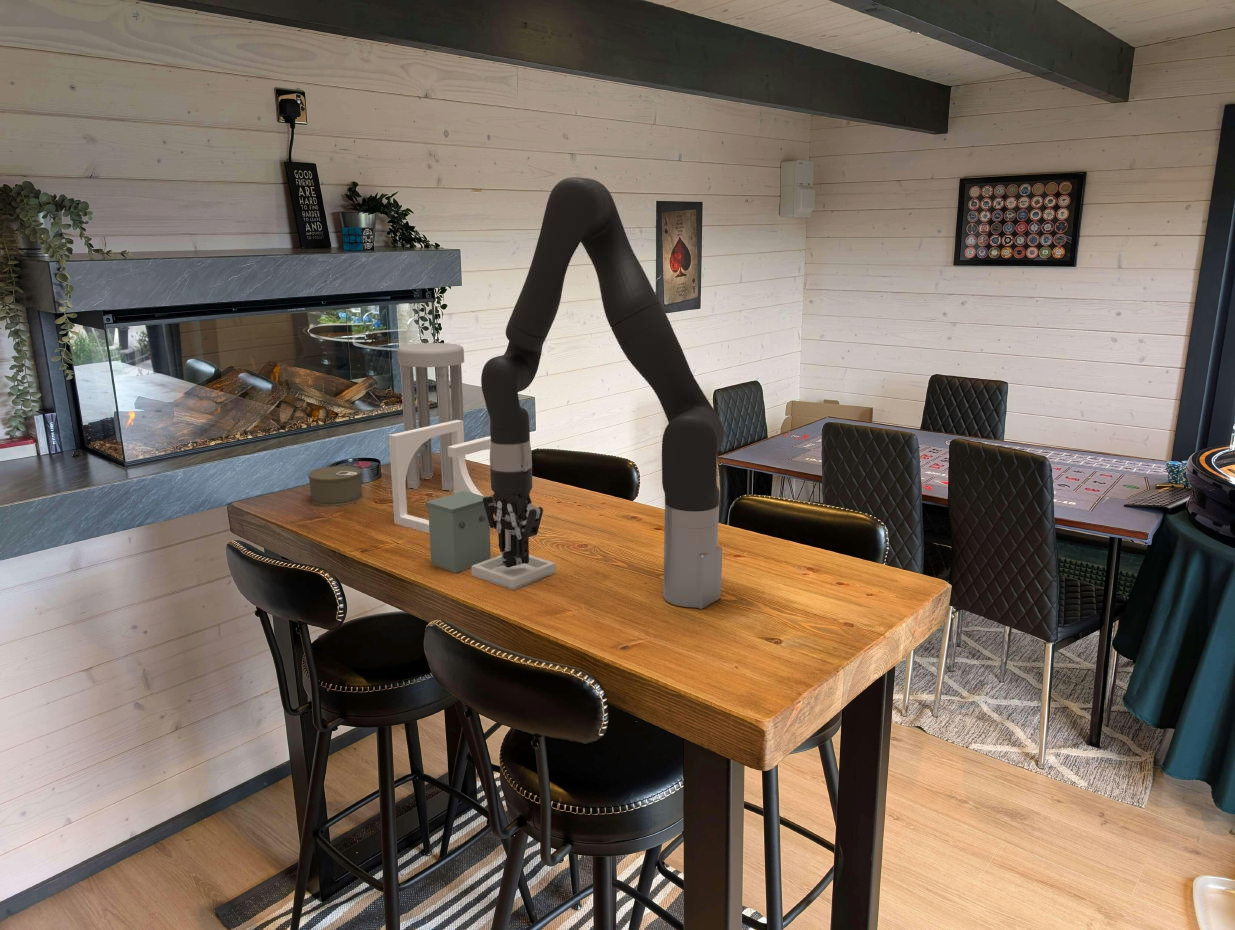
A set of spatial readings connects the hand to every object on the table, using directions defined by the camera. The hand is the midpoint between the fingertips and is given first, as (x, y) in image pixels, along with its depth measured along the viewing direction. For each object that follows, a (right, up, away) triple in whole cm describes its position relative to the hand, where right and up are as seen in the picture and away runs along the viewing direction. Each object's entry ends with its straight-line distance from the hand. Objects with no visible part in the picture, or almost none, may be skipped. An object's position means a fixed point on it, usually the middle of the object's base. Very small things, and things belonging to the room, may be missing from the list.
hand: (513, 553), depth 164 cm
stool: (-27, +11, +61) cm, 67 cm away
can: (-48, +8, +48) cm, 68 cm away
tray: (0, -4, +1) cm, 4 cm away
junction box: (-11, -2, +7) cm, 13 cm away
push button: (-1, -2, +1) cm, 3 cm away
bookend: (-16, +4, +32) cm, 36 cm away
